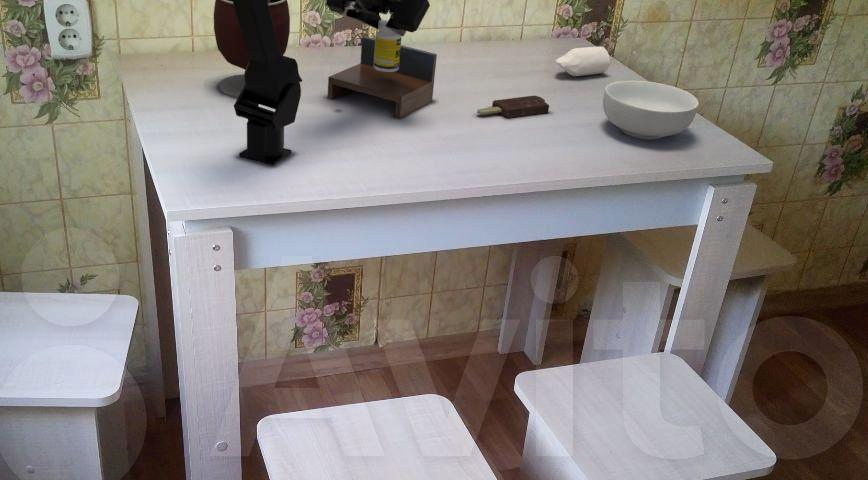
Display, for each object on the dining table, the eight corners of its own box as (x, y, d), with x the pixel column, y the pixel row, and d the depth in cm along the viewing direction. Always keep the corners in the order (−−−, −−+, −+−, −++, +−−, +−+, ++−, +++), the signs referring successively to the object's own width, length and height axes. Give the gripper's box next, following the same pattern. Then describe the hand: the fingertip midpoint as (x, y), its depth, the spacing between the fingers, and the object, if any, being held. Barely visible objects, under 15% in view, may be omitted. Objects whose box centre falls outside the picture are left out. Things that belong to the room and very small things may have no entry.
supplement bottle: (398, 73, 179) (402, 26, 174) (372, 71, 179) (375, 24, 174) (399, 65, 183) (403, 19, 178) (373, 63, 183) (377, 17, 178)
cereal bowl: (705, 149, 175) (715, 111, 171) (617, 150, 173) (625, 111, 169) (666, 115, 189) (675, 78, 185) (584, 115, 186) (591, 78, 182)
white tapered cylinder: (544, 73, 205) (548, 46, 202) (589, 68, 210) (594, 41, 207) (562, 83, 201) (567, 55, 198) (607, 77, 206) (612, 50, 203)
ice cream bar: (485, 121, 180) (551, 112, 186) (486, 112, 179) (553, 104, 185) (470, 111, 184) (535, 103, 190) (471, 103, 183) (537, 94, 189)
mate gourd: (261, 106, 180) (261, -7, 168) (200, 89, 185) (196, -22, 174) (307, 84, 191) (310, -23, 180) (248, 69, 196) (248, -37, 185)
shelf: (399, 118, 179) (403, 69, 174) (327, 97, 186) (329, 49, 181) (432, 101, 187) (437, 54, 182) (362, 81, 194) (364, 35, 189)
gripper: (429, -54, 161) (456, 4, 175) (339, -74, 169) (371, -17, 183) (398, 3, 160) (428, 57, 174) (308, -19, 168) (344, 34, 182)
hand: (393, 31), depth 178 cm, fingers closed on supplement bottle, 4 cm apart
